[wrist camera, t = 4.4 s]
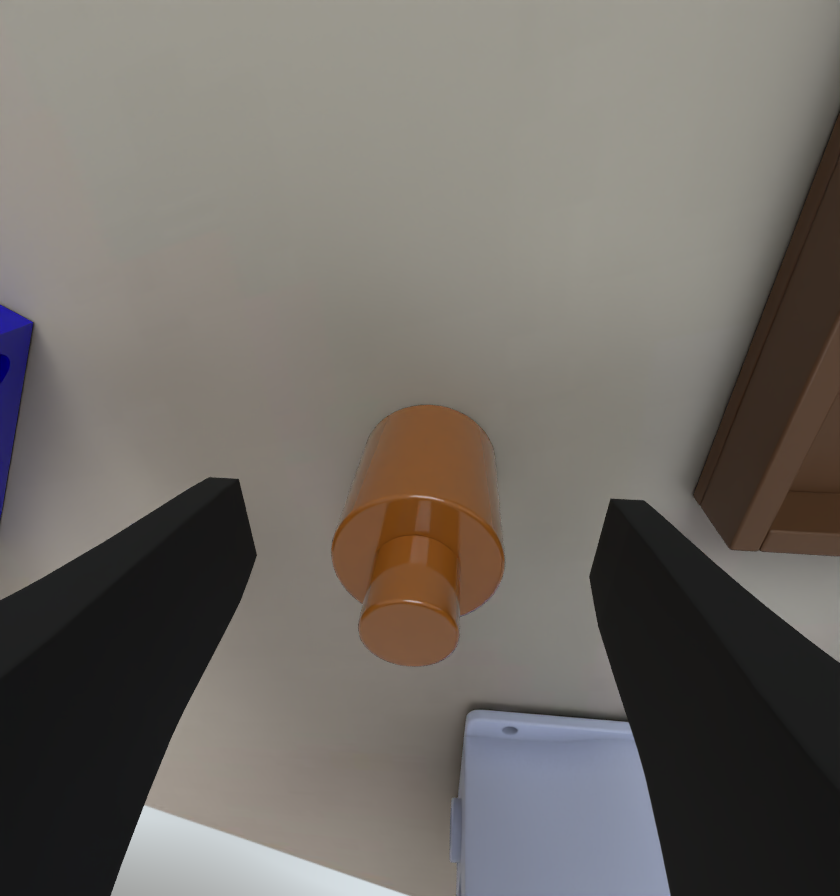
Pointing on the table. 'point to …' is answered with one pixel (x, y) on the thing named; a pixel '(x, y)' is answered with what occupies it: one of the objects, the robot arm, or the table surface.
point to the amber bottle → (420, 533)
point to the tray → (788, 399)
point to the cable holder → (11, 382)
